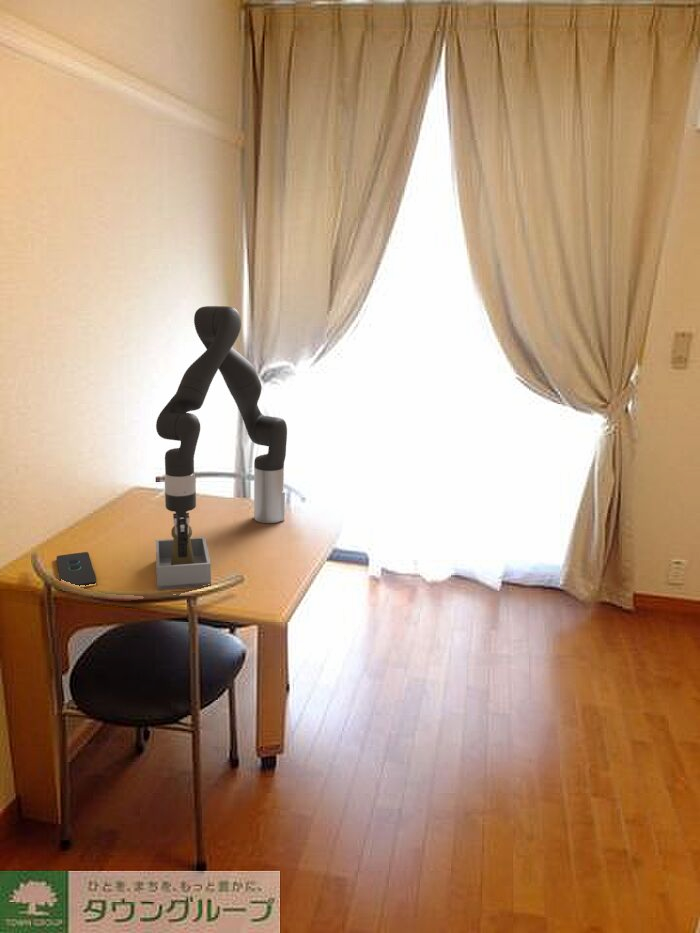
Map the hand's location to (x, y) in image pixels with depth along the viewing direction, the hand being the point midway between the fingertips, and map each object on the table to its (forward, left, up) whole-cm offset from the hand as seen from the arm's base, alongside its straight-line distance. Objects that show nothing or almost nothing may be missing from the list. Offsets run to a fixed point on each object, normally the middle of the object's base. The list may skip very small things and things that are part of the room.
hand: (182, 552), depth 178 cm
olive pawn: (0, 0, -4) cm, 4 cm away
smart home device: (+27, -5, -6) cm, 28 cm away
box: (0, 0, -6) cm, 6 cm away
